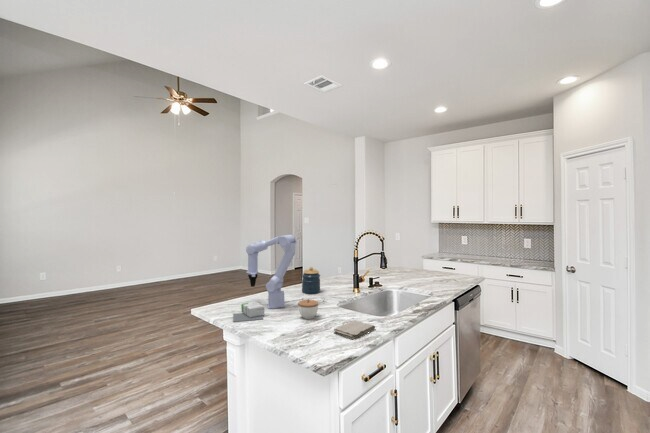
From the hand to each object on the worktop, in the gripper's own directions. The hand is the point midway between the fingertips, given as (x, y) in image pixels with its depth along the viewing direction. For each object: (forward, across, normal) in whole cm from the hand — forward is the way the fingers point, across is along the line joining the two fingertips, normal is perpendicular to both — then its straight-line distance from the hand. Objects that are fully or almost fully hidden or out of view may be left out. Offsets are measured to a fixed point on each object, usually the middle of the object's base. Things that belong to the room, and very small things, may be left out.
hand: (252, 286), depth 192 cm
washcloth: (+11, +60, +43) cm, 75 cm away
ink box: (+8, +16, -3) cm, 18 cm away
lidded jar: (+11, +34, +27) cm, 45 cm away
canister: (+11, -17, +41) cm, 46 cm away
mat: (+10, +25, -4) cm, 28 cm away
